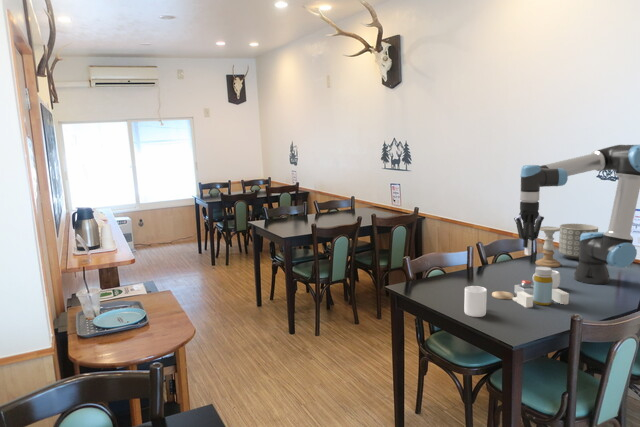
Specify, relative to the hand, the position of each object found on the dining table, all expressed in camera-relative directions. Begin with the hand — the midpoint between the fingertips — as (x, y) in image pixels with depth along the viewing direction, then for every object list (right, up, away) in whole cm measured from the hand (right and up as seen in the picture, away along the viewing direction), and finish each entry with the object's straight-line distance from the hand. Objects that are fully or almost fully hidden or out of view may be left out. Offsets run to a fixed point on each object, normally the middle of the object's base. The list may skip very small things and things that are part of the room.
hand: (527, 254), depth 214 cm
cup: (-28, -22, -17) cm, 39 cm away
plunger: (0, -16, +2) cm, 17 cm away
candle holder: (+32, -10, +51) cm, 61 cm away
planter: (+55, -7, +63) cm, 84 cm away
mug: (+13, -16, +12) cm, 24 cm away
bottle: (+2, -20, -9) cm, 22 cm away
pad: (-10, -18, +1) cm, 21 cm away
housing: (+1, -19, -3) cm, 19 cm away
